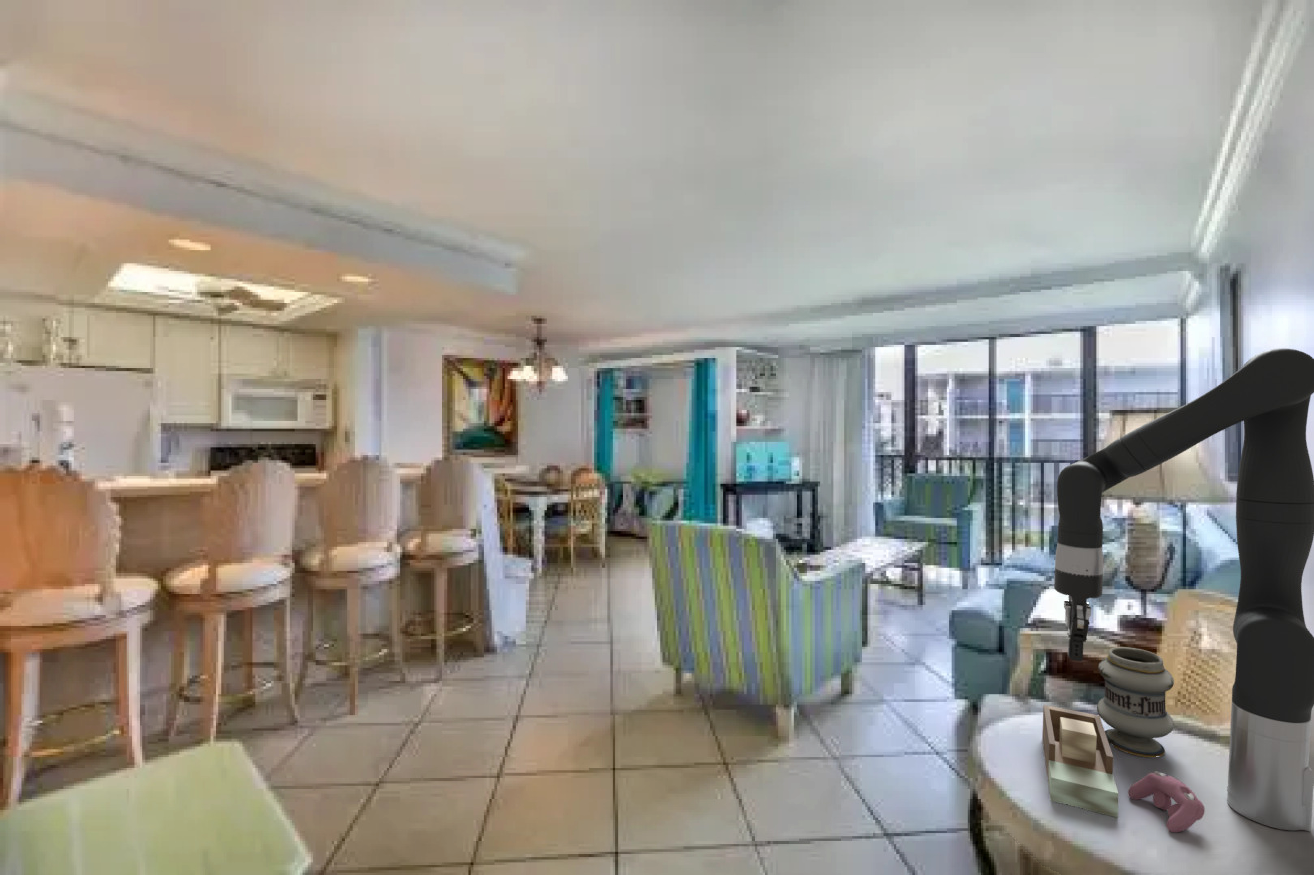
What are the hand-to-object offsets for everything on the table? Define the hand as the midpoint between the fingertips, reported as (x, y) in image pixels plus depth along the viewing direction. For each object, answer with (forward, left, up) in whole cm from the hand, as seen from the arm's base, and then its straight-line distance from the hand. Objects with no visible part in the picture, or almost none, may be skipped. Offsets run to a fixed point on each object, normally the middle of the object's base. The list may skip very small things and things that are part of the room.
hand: (1075, 659), depth 120 cm
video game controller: (-12, +14, -19) cm, 26 cm away
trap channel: (0, +7, -19) cm, 20 cm away
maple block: (0, +8, -15) cm, 16 cm away
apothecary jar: (-11, -10, -19) cm, 24 cm away
